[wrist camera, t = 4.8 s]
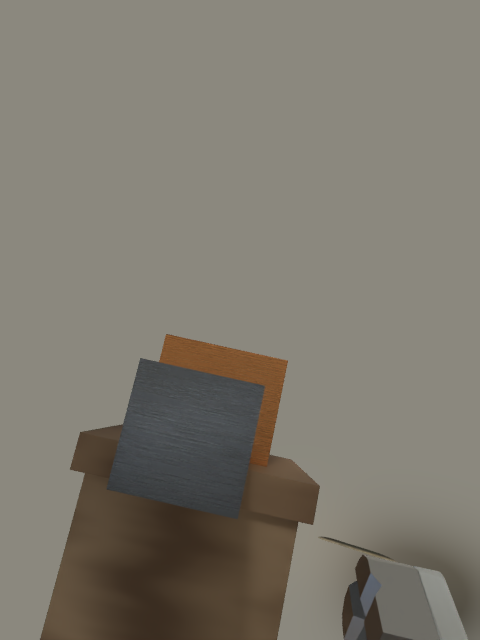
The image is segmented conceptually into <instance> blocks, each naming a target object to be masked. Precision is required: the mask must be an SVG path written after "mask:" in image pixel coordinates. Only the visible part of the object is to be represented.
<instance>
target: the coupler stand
mask: <svg viewBox="0 0 480 640" xmlns="http://www.w3.org/2000/svg"><path fill="white" fill-rule="evenodd" d="M122 427H123V425H118V426H112V427H106V428H101V429H95V430H90V431H84V432H80V435H79V438H78V442H77V446H76V450H75V453H74V457H73V460H72V464H71V467H70V470H74V471H78V472H83V473H85V475H84V479H83V483H82V487H81V490H80V494H79V498H78V501H77V505H76V509H75V512H74V516H73V520H72V524H71V527H70V531H69V535H68V538H67V542H66V546H65V550H64V553H63V557H62V561H61V564H60V569H59V572H58V575H57V579H56V583H55V587H54V590H53V594H52V598H51V602H50V605H49V609H48V612H47V617H46V620H45V624H44V627H43V631H42V635H41V638H40V640H277V636H278V631H279V625H280V620H281V614H282V609H283V603H284V598H285V592H286V587H287V581H288V576H289V571H290V565H291V559H292V554H293V549H294V543H295V538H296V532H297V527H298V522H302V523H307V524H311V525H313V522H314V516H315V511H316V505H317V499H318V494H319V488H320V486H319V485H318V484H317V483H316V482H315V481H314V480H313V479H312V478H310V477H309V476H308V475H307V474H306V473H305V472H304V471H303V470H302V469H301V468H300V467H299V466H298V465H297V464H295V463H294V462H293V461H292V460H290V459H286V458H282V457H277V456H273V455H269V458H268V463H267V467H265V466H260V465H256V464H251V463H249V467H248V472H247V477H246V482H245V486H244V491H243V496H242V501H241V506H240V511H239V516H238V519H234V518H230V517H225V516H221V515H216V514H212V513H208V512H203V511H199V510H195V509H190V508H186V507H181V506H177V505H173V504H168V503H164V502H160V501H155V500H151V499H146V498H142V497H138V496H133V495H129V494H125V493H120V492H116V491H111V490H107V485H108V481H109V477H110V473H111V469H112V465H113V462H114V458H115V454H116V450H117V446H118V442H119V439H120V435H121V431H122Z"/></svg>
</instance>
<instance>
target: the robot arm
mask: <svg viewBox="0 0 480 640" xmlns="http://www.w3.org/2000/svg"><path fill="white" fill-rule="evenodd" d="M355 570H356V576H357V581H356V582H354V583H352V584H350V585H349V587H348V590H347V593H346V595H345V599H344V606H343V613H342V619H343V621H342V624H343V625H342V626H343V635H344V640H468V638H467V635H466V633H465V630H464V627H463V625H462V622H461V620H460V617H459V615H458V612H457V609H456V607H455V604H454V602H453V599H452V597H451V594H450V591H449V589H448V586H447V584H446V581H445V579H444V576H443V575H442V574H441V573H440V572H438V571H434V570H429V569H425V568H420V567H416V566H413V567H412V566H410V565H406V564H401V563H397V562H393V561H389V560H384V559H380V558H375V557H371V556H367V555H362V557H361V558H360V559H359V561H358V563H357V566H356V569H355Z"/></svg>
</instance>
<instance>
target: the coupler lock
mask: <svg viewBox="0 0 480 640" xmlns="http://www.w3.org/2000/svg"><path fill="white" fill-rule="evenodd" d="M287 363H288V361H286V360H281V359H277V358H273V357H268V356H264V355H259V354H255V353H250V352H245V351H241V350H236V349H232V348H227V347H223V346H218V345H213V344H209V343H205V342H200V341H196V340H191V339H186V338H182V337H177V336H173V335H168V334H166V337H165V341H164V345H163V349H162V353H161V357H160V361H159V362H156V361H151V360H146V359H142V358H140V362H139V366H138V369H137V373H136V377H135V381H134V385H133V389H132V392H131V396H130V400H129V404H128V408H127V412H126V416H125V419H124V423H123V427H122V431H121V435H120V439H119V442H118V446H117V450H116V454H115V458H114V462H113V465H112V469H111V473H110V477H109V481H108V485H107V490H111V491H116V492H120V493H125V494H129V495H133V496H138V497H142V498H146V499H151V500H155V501H160V502H164V503H168V504H173V505H177V506H181V507H186V508H190V509H195V510H199V511H203V512H208V513H212V514H216V515H221V516H225V517H230V518H234V519H238V516H239V511H240V506H241V501H242V496H243V491H244V486H245V482H246V477H247V472H248V467H249V463H251V464H256V465H260V466H265V467H267V463H268V458H269V453H270V448H271V443H272V438H273V433H274V428H275V423H276V418H277V413H278V408H279V403H280V398H281V393H282V387H283V383H284V378H285V373H286V368H287Z"/></svg>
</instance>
